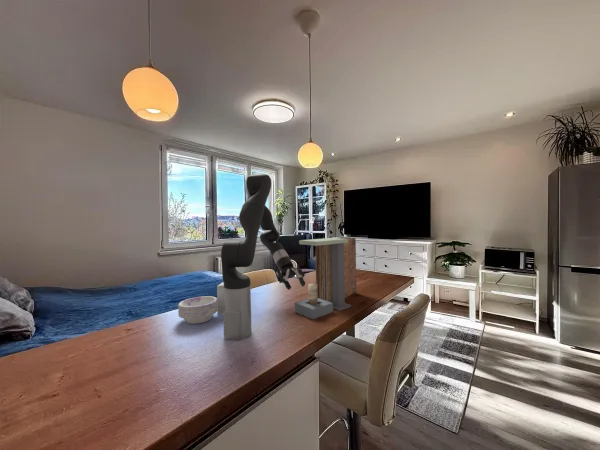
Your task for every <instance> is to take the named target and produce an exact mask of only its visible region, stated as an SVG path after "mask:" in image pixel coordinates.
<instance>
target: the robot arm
mask: <svg viewBox="0 0 600 450" xmlns="http://www.w3.org/2000/svg"><path fill="white" fill-rule="evenodd" d="M245 183H246V189H247V193H248V195H249V198H248V199H247V200H246V201H245V202H244V203H243V204H242V206H241V209H240V212H239V215H238V220H239V223H240V225H241V227H242V229H243V231H244V233H245V239H244V240H239V241H238V240H232V241H231V240H229V241H225V242H224V243H223V244H222V246H221V251H220V259H221V260H220V262H221V272H222V276H221V277H222V282H224V312H223V314H222V316H223V339H224V340H231V341H232V340H233V341H241V340H243V339H245V338H249V337H250V335H252V330H253V329H252V295H251V294H252V293H251V292H252V289H251V278H250V277H249V276H248V275H245V274H243V273H241V272H239V271H238V270H237V268H249V267H250V266H252V264H253V262H254V258H255V254H256V247H257V242H258V241H257V240H258V235H259V230H260V229H261V230H263V231H264V232H261V233H260V235H259V240H260V242H261V244H263V246H264V247H265V248H266V249H268V250H269V252H270V254H271V256H272V258H273V260H274V263H275V265H276V267H277V268H278V269H277V271H276V272H275V275H276V278H277V280H278V282H279V284H284V286H285V288H286V289H287V290H288V291H289V290H291V289H292V286H291V284H290V281H289V280H288V279H290V278H293V279H297V280H298V282H299V283H300V285H301V287H305V286H306V282H305V279H304V277H305V275H306V274H305V273H304V272H303V269H301V267H300V266H297V267H294V263H293V261H292V260H291V258H290V256H289V254H288V252H287V251H286V250H285V248H284V246H283V245H282V243H281V242H279V240H280V237H281V235H280V233H279V231H278V229H277V228H276V226H275V223H274V219H273V214H272V212H271V210H270V209H269V208H268V207H267V206H266V203H267V200H268V198H269V196H270V192H271V189H272V178H271V176H269V175H268V174H266V173H260V174H259V173H258V174H250V175H248V176H247V177H246V182H245Z"/></svg>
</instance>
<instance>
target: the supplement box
mask: <svg viewBox="0 0 600 450" xmlns="http://www.w3.org/2000/svg"><path fill="white" fill-rule="evenodd" d="M216 298H217V299H218V311H217V315H223V312H224V282H223V281H222V282H221V283H219V284H218V285H217V286H216Z"/></svg>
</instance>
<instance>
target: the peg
mask: <svg viewBox="0 0 600 450" xmlns="http://www.w3.org/2000/svg"><path fill="white" fill-rule="evenodd" d="M307 286H308V299H309V304H310V305H313V306H314V305H317V304H318V288H317V284H316V283H308V284H307Z"/></svg>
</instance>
